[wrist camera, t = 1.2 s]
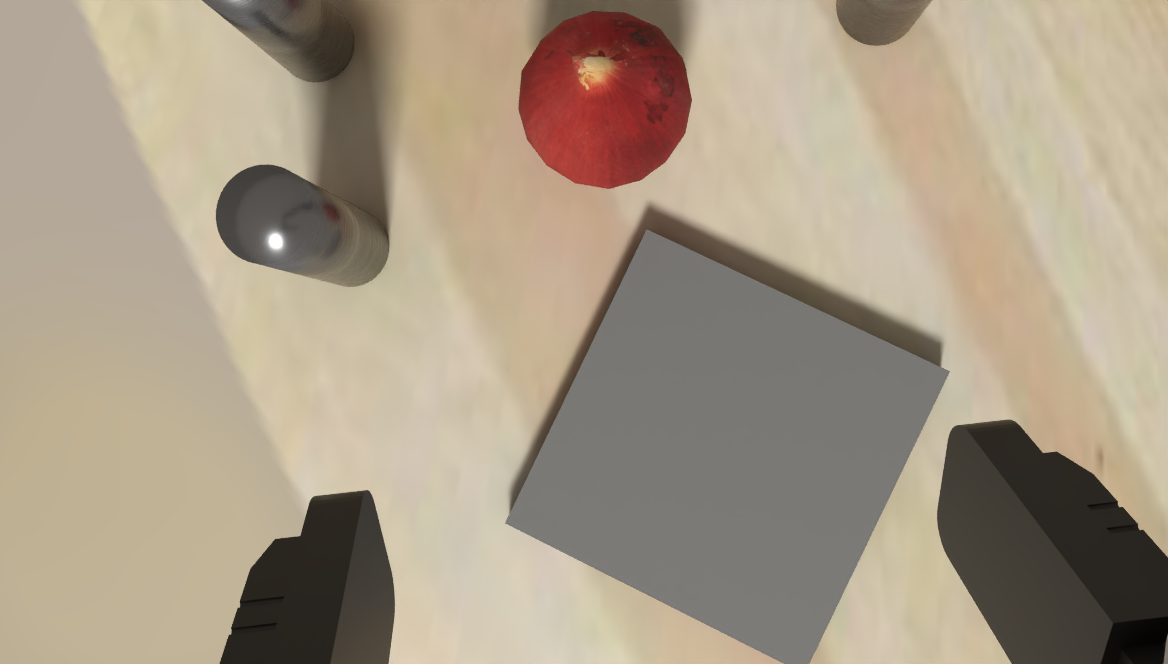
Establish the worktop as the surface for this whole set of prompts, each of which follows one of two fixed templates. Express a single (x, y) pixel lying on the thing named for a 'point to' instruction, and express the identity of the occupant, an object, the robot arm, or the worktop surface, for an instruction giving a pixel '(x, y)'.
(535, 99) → the onion
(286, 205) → the spacer field
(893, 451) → the mat
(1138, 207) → the worktop surface
